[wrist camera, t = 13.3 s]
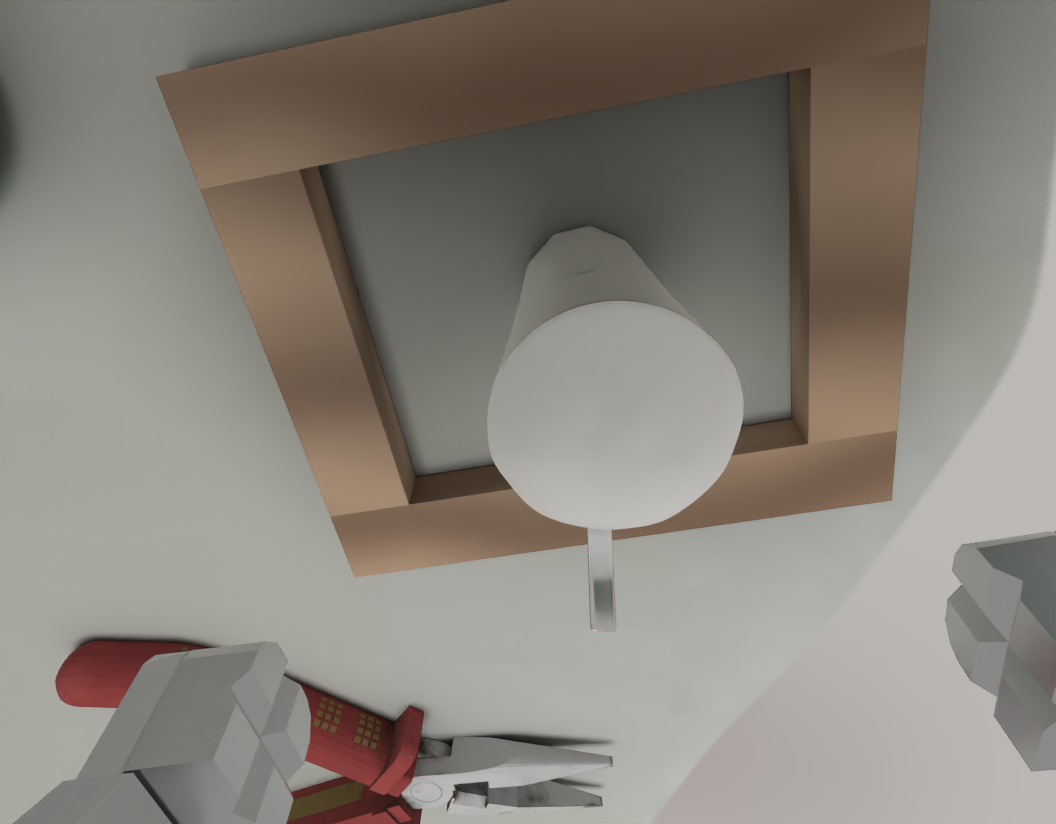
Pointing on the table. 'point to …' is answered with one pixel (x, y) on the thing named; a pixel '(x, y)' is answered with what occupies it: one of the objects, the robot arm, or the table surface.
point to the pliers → (370, 753)
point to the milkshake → (608, 399)
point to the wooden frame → (537, 95)
